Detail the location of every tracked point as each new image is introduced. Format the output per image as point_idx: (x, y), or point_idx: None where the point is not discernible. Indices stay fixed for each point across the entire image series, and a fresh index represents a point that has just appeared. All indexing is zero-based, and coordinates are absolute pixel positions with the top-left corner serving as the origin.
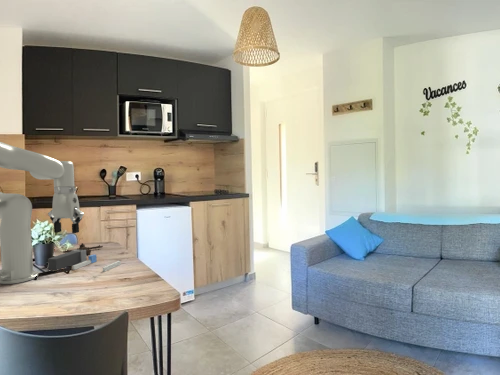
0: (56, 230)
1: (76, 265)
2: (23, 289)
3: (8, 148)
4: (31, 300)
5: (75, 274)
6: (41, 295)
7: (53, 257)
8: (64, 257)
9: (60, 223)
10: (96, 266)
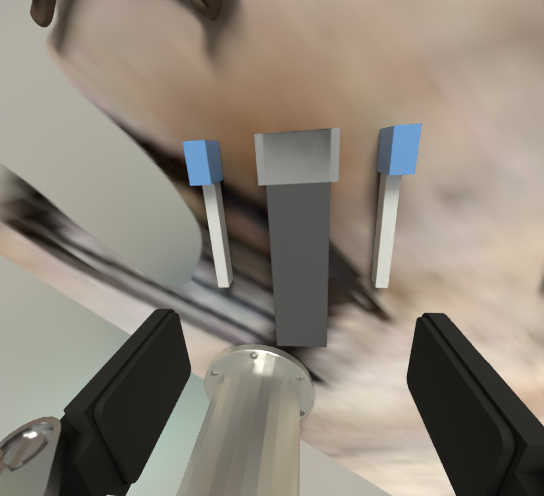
0: (179, 383)
1: (388, 276)
2: (360, 441)
3: None
4: (448, 486)
5: None
6: None
7: (284, 324)
8: (327, 299)
9: (114, 408)
10: (462, 215)
